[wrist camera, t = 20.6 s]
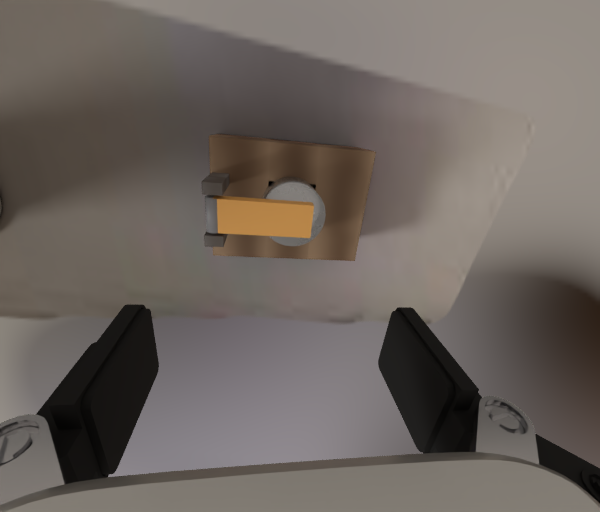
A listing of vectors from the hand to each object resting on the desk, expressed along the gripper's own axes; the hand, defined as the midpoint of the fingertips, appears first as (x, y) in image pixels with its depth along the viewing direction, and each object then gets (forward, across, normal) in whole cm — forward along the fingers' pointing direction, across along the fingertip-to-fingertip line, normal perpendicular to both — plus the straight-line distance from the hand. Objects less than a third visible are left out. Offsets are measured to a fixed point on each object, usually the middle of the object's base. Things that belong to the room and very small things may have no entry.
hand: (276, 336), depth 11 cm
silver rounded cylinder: (+25, -2, 0) cm, 25 cm away
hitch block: (+26, -2, 0) cm, 26 cm away
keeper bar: (+16, +1, 0) cm, 16 cm away
